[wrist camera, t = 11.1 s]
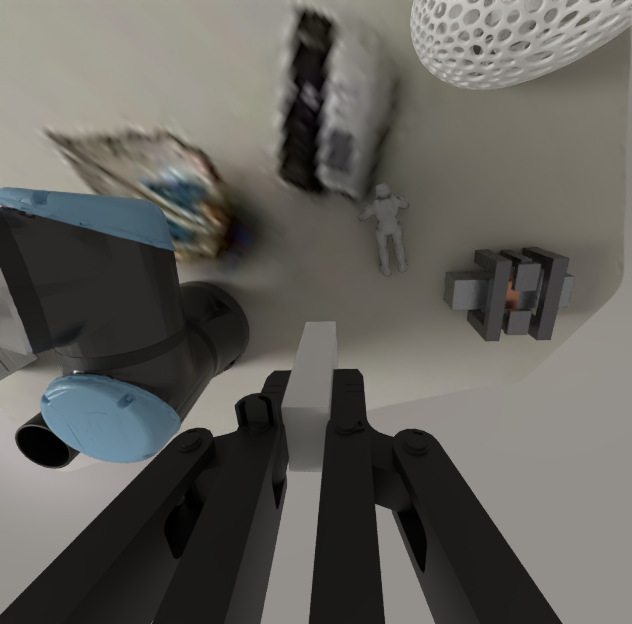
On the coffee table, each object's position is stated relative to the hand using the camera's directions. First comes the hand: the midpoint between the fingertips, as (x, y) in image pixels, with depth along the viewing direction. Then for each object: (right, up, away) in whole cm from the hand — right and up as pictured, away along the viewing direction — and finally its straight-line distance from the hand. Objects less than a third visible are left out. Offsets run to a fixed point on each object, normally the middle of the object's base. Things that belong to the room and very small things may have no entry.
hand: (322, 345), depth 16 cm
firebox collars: (+25, +5, +27) cm, 37 cm away
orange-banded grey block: (+25, +5, +27) cm, 37 cm away
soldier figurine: (+9, +13, +26) cm, 31 cm away
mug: (-45, -17, +44) cm, 65 cm away
